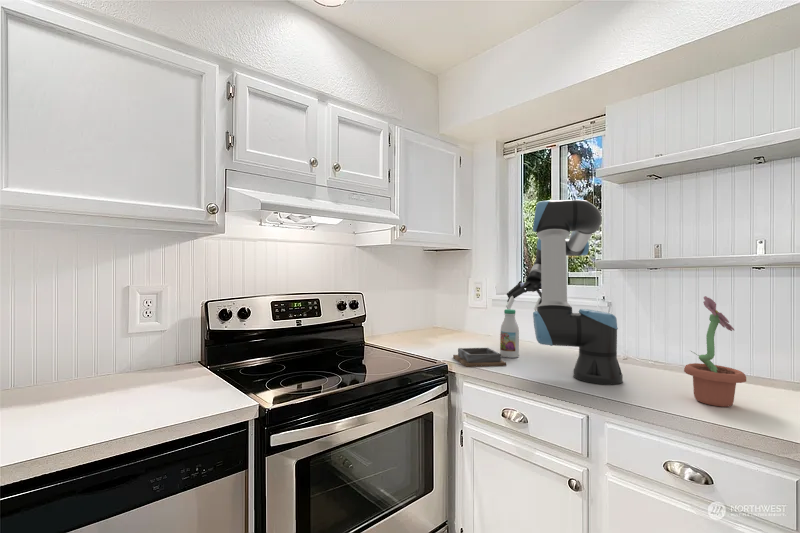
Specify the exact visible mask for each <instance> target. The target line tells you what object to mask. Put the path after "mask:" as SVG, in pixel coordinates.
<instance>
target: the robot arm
mask: <svg viewBox="0 0 800 533" xmlns="http://www.w3.org/2000/svg"><path fill="white" fill-rule="evenodd" d="M602 218H603V217H602V213H601V211H600V210H599V209H598V207H596V205H594V204H593V203H592V202H590V201H588V200H586V199H585V200H584V199H565V200H564V199H560V200H559V199H558V200H555V199H554V200H550V199H548V200H542V201H538V202H537V203H536V205H535V212H534V217H533V225H532V231H533V232H534V233H536V237H537V238H538V239H537V244H536V254H535V261H534V263H533V265H532V267H531V269H530V271H529V274H528V275H527V277H526V281H525V282H522V280H520V281H518V283H517V284H516V285H515V286H514V287H512V289H510V290H509V291H508V292H507V293H506V296H507V298H508V299H507V300H506V302H507V304H506V305H505V308H506V309H511V308H512V306H513V305H514V302H515V299H516V298H517V297H519V296H521V295H523V294H524V293H527V292H532V293H534V292H537V294H538V296H539V297H538V299H537V301H536V303H535V306H534V308H533V309H534V311H533V313H532V318H533V328H534V334H535V339H536V341H537V343H538V344H540V345H544V346H551V347H553V346H558V347H574V348H578V356H577V359H576V361H575V365H574V368H573V369H572V370H573V371H572V372H573V373H572V374H573V378H575V379H576V380H579V381H582V382H586V383H591V384H595V385H596V384H599V385H620V384H621V383H623V379H624V378H623V373H622V370H621V367H620V364H619V361H618V329H619V328H618V321H617V317H616V316H615V314H612V313H609V312H606V311H599V310H596V309H588V308H587V309H586V308H580V309H579V311H578V312H573V307H572V305H571V304H569V303H568V285H567V284H568V281H567V276H568V275H567V256H569V257H570V256H573V257H574V256H578V257H582V256H587V255H588V254H589V251H590V250H589V249H590V243H589V240H590V238H591V237H592V235H593V234H594V233H596V232H597V231H598V230H599V229H600V227H601V225H602V222H603V221H602V220H603V219H602ZM568 237H569V238H568ZM540 289H541V290H540Z"/></svg>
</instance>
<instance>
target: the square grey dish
mask: <svg viewBox="0 0 800 533" xmlns="http://www.w3.org/2000/svg"><path fill="white" fill-rule="evenodd" d="M453 359H454V360H456V361H457V362H459V363H460V364H461V365H463V366H465V367H466V368H476V367H477V368H478V367H504V366H503V365H506V366H507V362H506V361H504V360H502V356H501V354H500V352H498V351H495V350H494V349H492V348H489V347H467V348H466V347H465V348H464V347H463V348H462V347H461V348H460V347H459V348H457V354H453Z"/></svg>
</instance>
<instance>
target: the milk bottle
mask: <svg viewBox="0 0 800 533" xmlns="http://www.w3.org/2000/svg"><path fill="white" fill-rule="evenodd" d="M503 312H504V314H503V315H504V318H503V321H502V324H501V326H500V334H499V335H500V336H499V337H500V338H499V340H500V342H499V343H500V344H499V347H500V348H499V350H500V351H499V353H500V354H501V358H502V357H503V358H508V359H510V358H511V359H512V358H514V359H515V358H518V357H519V356H520V330H519V326H518V325H519V324H518V323H517V320H516V309H513V308H512V309H511V308H510V309H507V308H506V309H504V311H503Z"/></svg>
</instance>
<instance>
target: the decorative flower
mask: <svg viewBox="0 0 800 533" xmlns="http://www.w3.org/2000/svg"><path fill="white" fill-rule="evenodd" d="M703 305H704V307H705V308H706V309H708V311H710V312H711V313H710V315H709V317H708V318H709V325H708V328H707V331H706V334H705V335H706V337H705V338H706V353H705V354H700V355H699V354H698V353H696V352H694V351H692V350H690V352H691V353H692V354H694V355H697V356H698V359H699V361H700V362H702V363H696V362H694V363H688V364H686V365H685V366H684V367H683V368H684V369H683V372H684V373H685V374H687V375H689V376H692V385H693V388H692V389H693V395H694V398H695V400H696V401H698V402H700V403H702V404H705V405H709V406H713V407H721V408H722V407H723V408H729V407H731V406H733V404H734V401H735V395H736V394H735V393H736V387H737V384H742V383H746V382H747V375H746V374H745V372H743V371H741V370H740V369H739V370H738V369H735V368H732V367H728V366H722V365H717V364H714V363H713V361H711V360H713V359H714V357H715V354H716V352H715V348H716V347H715V336H716V330H717V327H718V325H720V326H722V328H725V329H726V330H728V331H731V332H733V331H735V328H734V327H733V326H732V325H731V324H730V321H729V320H728V318H727V317H726V316H725V315H724V314H723V312H720V311H718V310H717V303H716V301H715V300H714V299H712V298H710V297H708V296H703Z"/></svg>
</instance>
